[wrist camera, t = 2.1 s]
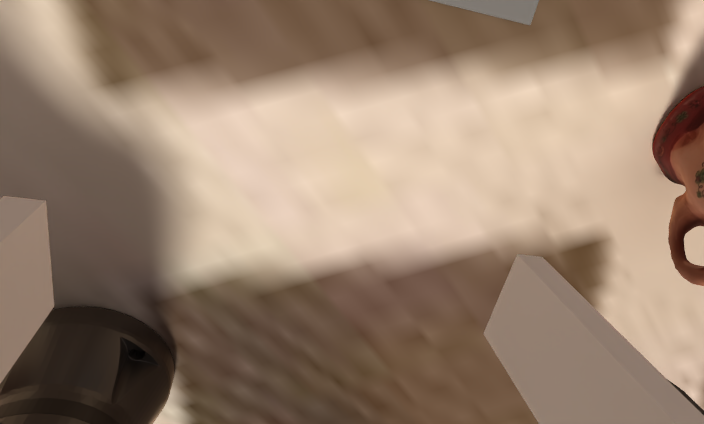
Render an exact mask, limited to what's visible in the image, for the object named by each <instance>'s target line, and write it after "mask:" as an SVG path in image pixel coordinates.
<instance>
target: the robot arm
mask: <svg viewBox="0 0 704 424" xmlns="http://www.w3.org/2000/svg"><path fill="white" fill-rule="evenodd" d="M53 307H54V295H53V282H52V270H51V257H50V244H49V231H48V218H47V205H46V200H38V199H29V198H20V197H11V196H3V197H2V198H0V424H153V422H154V421H155V419H156V418H157V417H158V415H159V414H160V412H161V411H162V409H163V408H164V406H165V404H166V402H167V400H168V397H169V394H170V390H171V386H172V382H173V378H174V362H173V358H172V355H171V352H170V350H169V349H168V347H167V345H166V344H165V342H164V341H163V340H162V339H161V337H160V336H159V335H158V334H157V333H155V332H154V331H153V330H152V329H151V328H149V327H148V326H146V325H145V324H143V323H142V322H140V321H138V320H136V319H134V318H132V317H130V316H128V315H125V314H122V313H119V312H116V311H112V310H108V309H103V308H96V307H67V308H60V309H55V310H52V309H53ZM484 335H485V337H486V339H487V340H488V342H489V343H490V345H491V347H492V348H493V350H494V352H495V353H496V355H497V356H498V358H499V360H500V361H501V363H502V365H503V366H504V368H505V369H506V371H507V373H508V374H509V376H510V377H511V379H512V381H513V382H514V384H515V386H516V387H517V389H518V390H519V392H520V394H521V395H522V397H523V398H524V400H525V402H526V403H527V405H528V407H529V408H530V410H531V411H532V413H533V415H534V416H535V418H536V420H537V421H538V423H539V424H704V410H702V409H701V408H700V407H699V406H698V405H697V404H696V403H695V402H694V401H693V400H692V399H691V398H690V397H689V396H688V395H687V394H686V393H685V392H684V391H683V390H681V389H680V388H679V387H677V386H676V385H674V384H673V383H672V382H670V381H669V380H667V379H666V378H665V377H664V376H663V375H662V374H661V373H660V372H659V371H658V370H657V369H656V368H655V367H654V366H653V365H652V364H651V363H650V362H649V361H648V360H647V359H646V358H645V357H644V356H643V355H641V354H640V353H639V352H638V351H637V350H636V349H635V348H634V347H633V346H632V345H631V344H630V343H629V342H628V341H627V340H626V339H625V338H624V337H623V336H622V335H621V334H620V333H619V332H618V331H617V330H616V329H615V328H614V327H613V326H612V325H611V324H610V323H609V322H608V321H607V320H606V319H605V318H604V317H603V316H602V315H601V314H600V313H599V312H598V311H597V310H596V309H595V308H594V307H593V306H592V305H591V304H590V303H588V302H587V301H586V300H585V299H584V298H583V297H582V296H581V295H580V294H579V293H578V292H577V291H576V290H575V289H574V288H573V287H572V286H571V285H570V284H569V283H568V282H567V281H566V280H565V279H564V278H563V277H562V276H561V275H560V274H559V273H558V272H557V271H556V270H555V269H554V268H553V267H552V266H551V265H550V264H549V263H548V262H547V261H546V260H545V259H544V258H543V257H538V256H530V255H521V254H517V256H516V259H515V261H514V263H513V266H512V268H511V270H510V273H509V275H508V277H507V280H506V282H505V284H504V287H503V289H502V292H501V294H500V296H499V299H498V301H497V303H496V306H495V308H494V310H493V313H492V315H491V317H490V320H489V322H488V324H487V327H486V329H485V331H484Z"/></svg>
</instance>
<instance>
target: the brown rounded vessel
mask: <svg viewBox="0 0 704 424" xmlns="http://www.w3.org/2000/svg"><path fill="white" fill-rule="evenodd" d="M653 155H654V158H655V160H656V162H657V163H658V165H659V167H660V168H661V170H662V172H663V173H664V175H665V176H666V177H667V178H668V179H669V180H670V181H672V182H674V183H677V184H681V185H683V186H685V187H686V192H685V193H684V194H683V195H681V196H679V197H677V198H676V199H675V202H674V206H673V211H672V215H671V219H670V223H669V238H668V240H669V245H670V250H671V257H672V259H673V262H674V264H675V268H676V269H677V270H678V272H679V273H680V274H681V276H682V277H683V278H685V279H686V280H688V281H689V282H690V283H693V284H696V285H701V286H704V266H698V265H694V264H692V263H690V262H689V261H688V260H687V258H686V255H685V251H684V236H685V234H686V233H687V232H688V231H690V230H691V229H692V228H694V227H697V226H704V86H703V87H701V88H699V89H697V90H695V91H693V92H692V93H690V94H689V95H688V96H686V97H685V98H684V99H683V100H682V101H681V102H680V103H679V104H678V105H677V106H676V107H675V108H674V109H673V110H672V111H671V112H670V113H669V115H668V116H667V118H666V119H665V120H664V122H663V123H662V125H661V126H660V128H659V130H658V132H657V134H656V136H655V139H654V142H653Z"/></svg>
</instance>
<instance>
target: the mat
mask: <svg viewBox="0 0 704 424" xmlns="http://www.w3.org/2000/svg"><path fill="white" fill-rule="evenodd" d="M430 1H434V2H438V3H442V4H446V5H450V6H454V7H458V8H462V9H466V10H470V11H474V12H478V13H482V14H486V15H490V16H495V17H499V18H503V19H507V20H511V21H515V22H519V23H523V24H527V25H530V24H531V22H532V19H533V16H534V13H535V10H536V7H537V4H538V2H539V0H430Z"/></svg>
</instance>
